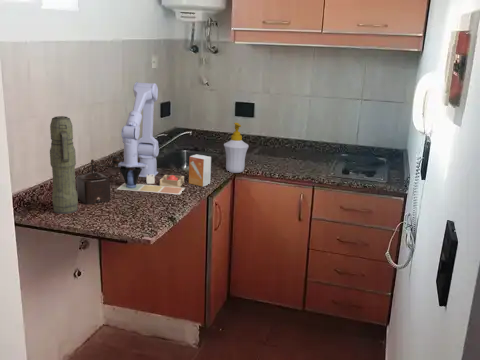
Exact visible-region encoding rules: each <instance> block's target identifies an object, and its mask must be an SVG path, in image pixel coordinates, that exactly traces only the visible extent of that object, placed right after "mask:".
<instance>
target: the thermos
mask: <svg viewBox="0 0 480 360" xmlns="http://www.w3.org/2000/svg"><path fill="white" fill-rule="evenodd" d="M49 131H50V140H51V143H50V145H51V146H50V147H49V148H50V149H49V157H50V162H49V163H50V167H51V170H52V171H51V173H52V188H53V189H52V193H51V195H52V196H51V197H52V199H51V201H52V206H53V208H52V209H53V212H54V213H56V214H62V215H64V214H72V213H75V212H77V211H79V210H78V204H79V201H78V200H79V199H78V195H77V184H76V169H75V167H76V164H77V159H76V149H75V146H74V141H73V139H74V133H73V132H74V129H73V123H72V121H71V119H70V117H68V116H64V115H61V116H60V115H59V116H54V117H52V118H51V120H50V125H49Z"/></svg>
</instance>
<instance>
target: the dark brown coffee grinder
mask: <svg viewBox="0 0 480 360" xmlns="http://www.w3.org/2000/svg"><path fill="white" fill-rule="evenodd" d="M111 162H112V164H111V165H108V164H101V163H99V164H98V163H95V160H94V159H90V166H91V172H87V173H86V174H80V175H76V191H77V195H78V200H79V201H80V202H82V203H83V204H84V205H86V206H87V205H93V204H100V203H105V202H108V201H109V202H110V201H111V180H110V177H108V176H106V175H105V174H103V173H101V172H97V171H95V167H100V168H101V167H103V168H110V169H117V168H119V167H118V164H119V163H120V162H122V158H121V157H120V156H118V155H113V156H112V157H111Z"/></svg>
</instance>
